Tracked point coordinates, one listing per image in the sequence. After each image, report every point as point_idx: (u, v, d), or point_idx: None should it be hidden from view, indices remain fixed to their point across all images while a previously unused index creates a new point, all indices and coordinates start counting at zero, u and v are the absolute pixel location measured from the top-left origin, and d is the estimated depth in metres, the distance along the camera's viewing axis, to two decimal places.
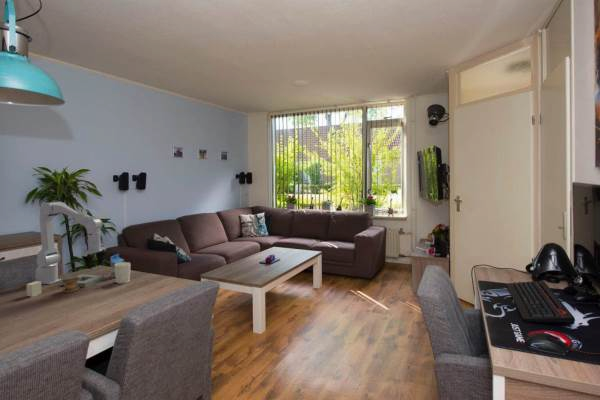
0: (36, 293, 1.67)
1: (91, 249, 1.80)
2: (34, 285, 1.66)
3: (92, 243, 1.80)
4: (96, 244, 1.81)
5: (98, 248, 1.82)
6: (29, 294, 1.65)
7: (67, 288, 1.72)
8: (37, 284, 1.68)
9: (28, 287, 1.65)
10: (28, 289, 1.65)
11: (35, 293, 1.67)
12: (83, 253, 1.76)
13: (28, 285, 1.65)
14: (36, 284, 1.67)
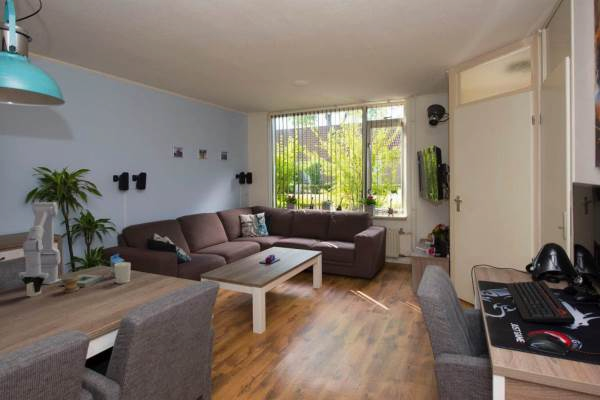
0: (36, 293, 1.67)
1: None
2: None
3: None
4: (26, 267, 1.65)
5: (27, 273, 1.64)
6: (29, 294, 1.65)
7: (67, 288, 1.72)
8: None
9: (28, 287, 1.65)
10: (28, 289, 1.65)
11: (35, 293, 1.67)
12: None
13: (28, 285, 1.65)
14: None
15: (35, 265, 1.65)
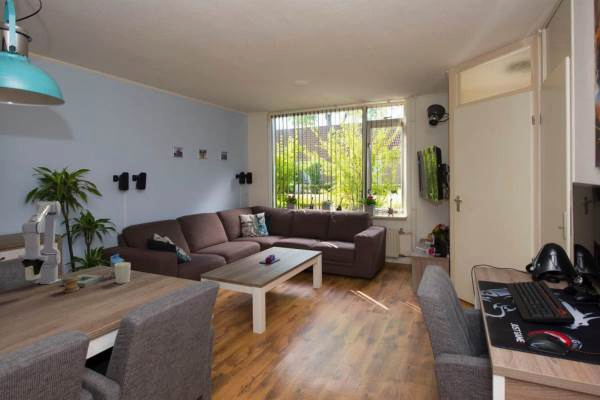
0: (35, 277, 1.66)
1: None
2: None
3: None
4: (25, 249, 1.64)
5: (26, 255, 1.64)
6: (28, 277, 1.64)
7: (67, 288, 1.72)
8: None
9: (27, 270, 1.64)
10: (27, 272, 1.64)
11: (34, 277, 1.66)
12: None
13: (27, 268, 1.64)
14: None
15: (34, 247, 1.65)
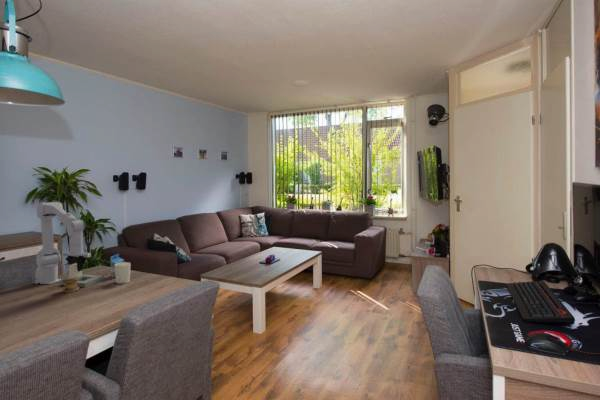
0: (77, 274, 1.73)
1: None
2: (76, 266, 1.72)
3: None
4: (69, 247, 1.71)
5: (71, 252, 1.71)
6: (71, 275, 1.71)
7: (67, 288, 1.72)
8: None
9: (70, 268, 1.71)
10: (70, 270, 1.71)
11: (76, 274, 1.72)
12: None
13: (70, 266, 1.71)
14: None
15: (78, 245, 1.71)
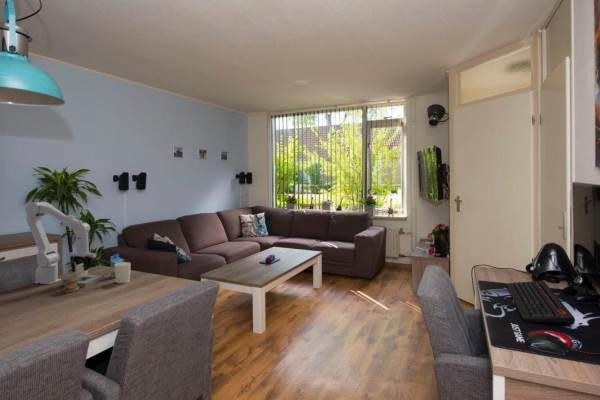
0: (84, 273, 1.87)
1: None
2: (82, 266, 1.85)
3: None
4: (76, 248, 1.85)
5: (77, 252, 1.85)
6: (78, 274, 1.85)
7: (67, 288, 1.72)
8: None
9: (77, 268, 1.85)
10: (77, 270, 1.85)
11: (83, 274, 1.86)
12: None
13: (77, 266, 1.84)
14: None
15: (84, 246, 1.85)
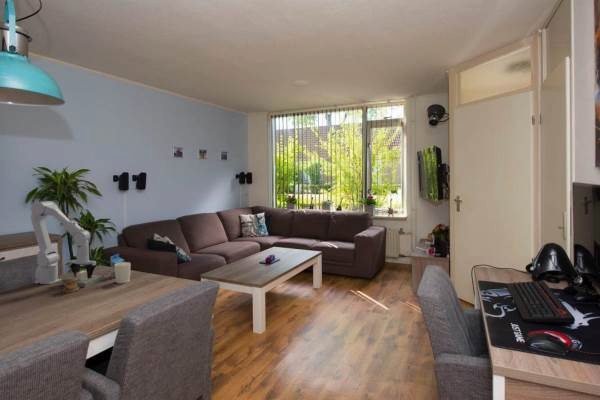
0: None
1: None
2: (82, 274, 1.86)
3: None
4: (76, 255, 1.85)
5: (78, 260, 1.85)
6: None
7: (67, 288, 1.72)
8: (85, 273, 1.87)
9: (77, 275, 1.85)
10: None
11: None
12: None
13: (77, 274, 1.85)
14: (84, 273, 1.87)
15: (85, 254, 1.86)
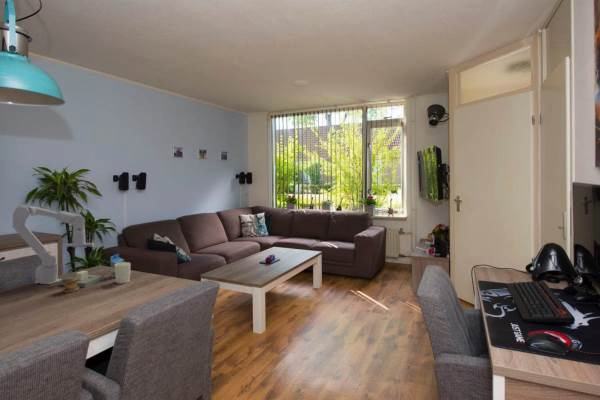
0: None
1: None
2: (82, 274, 1.86)
3: (73, 237, 1.94)
4: (74, 238, 1.92)
5: (76, 243, 1.92)
6: None
7: (67, 288, 1.72)
8: (85, 273, 1.87)
9: (77, 275, 1.85)
10: None
11: None
12: None
13: (77, 274, 1.85)
14: (84, 273, 1.87)
15: (83, 236, 1.94)
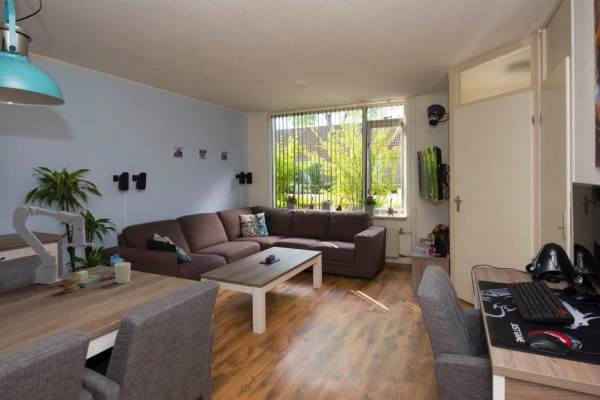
0: None
1: None
2: (82, 274, 1.86)
3: (73, 237, 1.94)
4: (74, 238, 1.92)
5: (76, 243, 1.92)
6: None
7: (67, 288, 1.72)
8: (85, 273, 1.87)
9: (77, 275, 1.85)
10: None
11: None
12: None
13: (77, 274, 1.85)
14: (84, 273, 1.87)
15: (83, 236, 1.94)
